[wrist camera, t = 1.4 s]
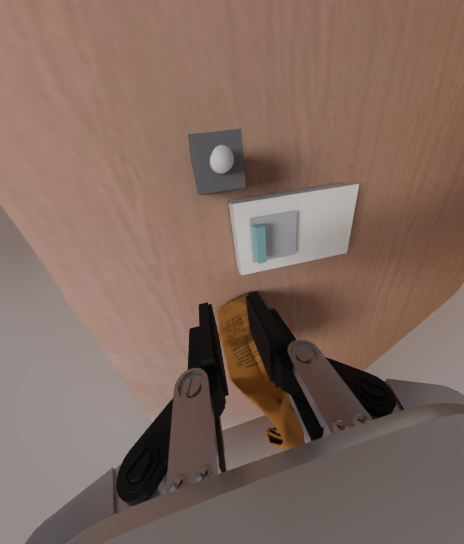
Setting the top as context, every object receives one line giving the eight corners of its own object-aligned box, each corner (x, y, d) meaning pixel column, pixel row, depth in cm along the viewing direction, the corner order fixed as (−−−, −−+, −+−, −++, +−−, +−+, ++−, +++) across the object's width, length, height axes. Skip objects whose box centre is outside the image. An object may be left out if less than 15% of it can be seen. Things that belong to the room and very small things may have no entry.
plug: (223, 154, 23) (247, 119, 12) (228, 190, 25) (252, 186, 14) (190, 158, 23) (186, 125, 12) (198, 194, 25) (200, 194, 14)
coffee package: (231, 345, 39) (269, 499, 19) (210, 305, 33) (232, 466, 13) (271, 327, 39) (348, 463, 19) (256, 285, 33) (345, 416, 14)
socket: (341, 183, 28) (359, 181, 25) (332, 248, 33) (346, 254, 30) (227, 200, 26) (232, 201, 23) (236, 268, 31) (241, 277, 28)
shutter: (294, 210, 25) (307, 212, 22) (293, 253, 27) (304, 259, 25) (248, 218, 24) (255, 221, 21) (252, 261, 27) (258, 268, 24)
